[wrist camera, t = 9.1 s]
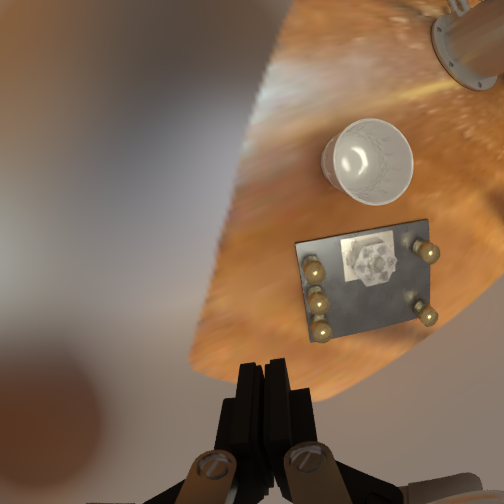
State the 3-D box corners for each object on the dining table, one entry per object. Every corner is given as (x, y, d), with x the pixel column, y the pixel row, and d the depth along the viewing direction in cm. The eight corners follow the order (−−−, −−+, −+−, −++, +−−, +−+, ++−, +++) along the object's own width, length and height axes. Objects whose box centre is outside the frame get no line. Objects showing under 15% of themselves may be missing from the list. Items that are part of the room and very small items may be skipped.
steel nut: (345, 244, 36) (350, 249, 34) (388, 235, 36) (395, 239, 33) (350, 281, 37) (355, 289, 35) (391, 272, 37) (398, 278, 34)
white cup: (373, 129, 33) (407, 117, 23) (380, 192, 35) (416, 201, 25) (311, 133, 33) (327, 120, 24) (319, 198, 35) (338, 209, 26)
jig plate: (295, 242, 37) (298, 251, 33) (426, 218, 35) (441, 224, 31) (310, 340, 41) (313, 356, 37) (427, 313, 39) (439, 325, 35)
